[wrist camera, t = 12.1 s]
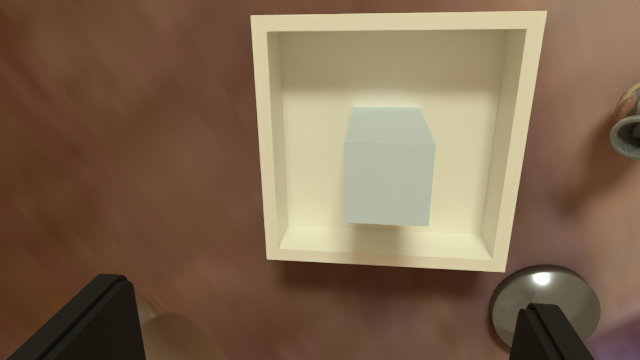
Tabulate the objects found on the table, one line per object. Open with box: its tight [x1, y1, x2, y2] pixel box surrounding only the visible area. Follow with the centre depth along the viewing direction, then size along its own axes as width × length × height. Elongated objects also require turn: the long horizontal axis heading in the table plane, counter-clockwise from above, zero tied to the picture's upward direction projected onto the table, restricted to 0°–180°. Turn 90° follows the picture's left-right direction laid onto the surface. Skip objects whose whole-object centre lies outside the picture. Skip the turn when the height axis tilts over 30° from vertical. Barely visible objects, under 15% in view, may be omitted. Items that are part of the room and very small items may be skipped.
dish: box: [251, 11, 547, 272], centre depth 26 cm, size 15×15×4 cm
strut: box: [343, 107, 436, 227], centre depth 23 cm, size 4×4×8 cm
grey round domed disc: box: [489, 265, 600, 347], centre depth 30 cm, size 7×7×1 cm
